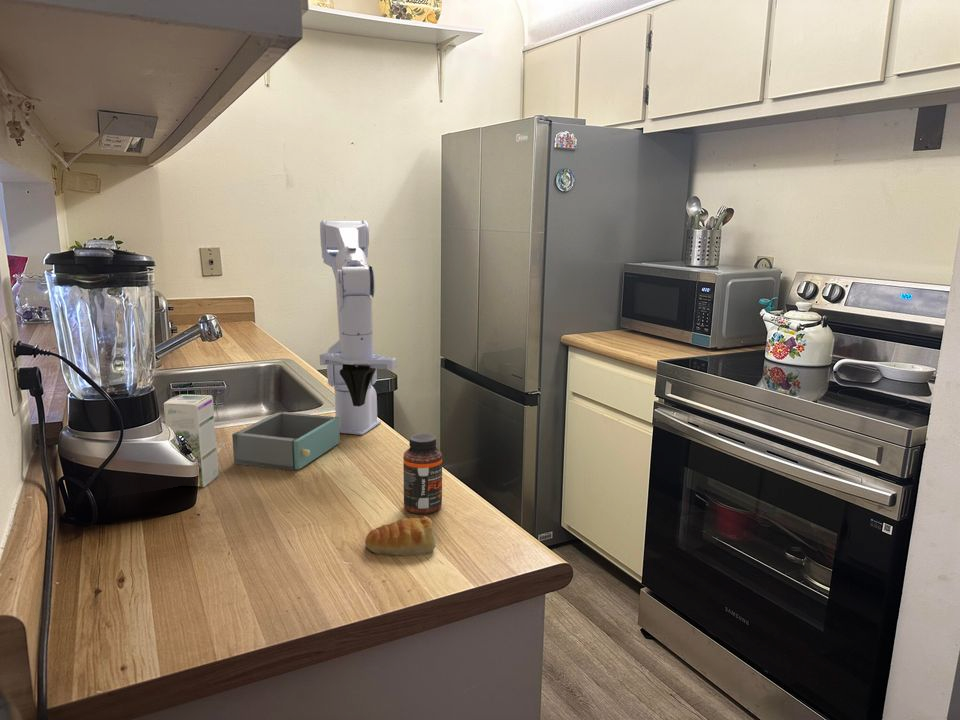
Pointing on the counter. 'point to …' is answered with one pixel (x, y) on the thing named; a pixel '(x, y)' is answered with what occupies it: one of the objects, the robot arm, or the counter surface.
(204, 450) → the syrup box
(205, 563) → the counter surface
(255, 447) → the grey open box
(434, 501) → the supplement bottle
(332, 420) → the door
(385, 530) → the pastry
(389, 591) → the counter surface
